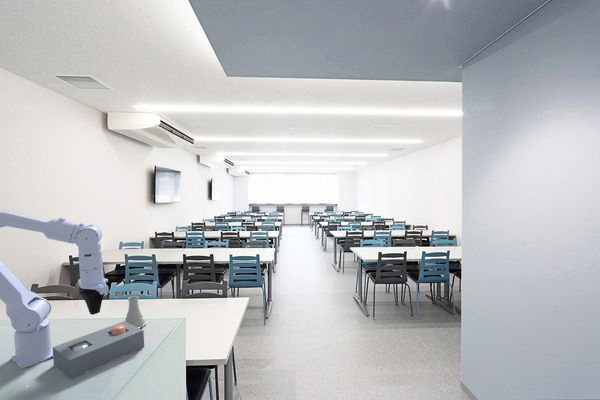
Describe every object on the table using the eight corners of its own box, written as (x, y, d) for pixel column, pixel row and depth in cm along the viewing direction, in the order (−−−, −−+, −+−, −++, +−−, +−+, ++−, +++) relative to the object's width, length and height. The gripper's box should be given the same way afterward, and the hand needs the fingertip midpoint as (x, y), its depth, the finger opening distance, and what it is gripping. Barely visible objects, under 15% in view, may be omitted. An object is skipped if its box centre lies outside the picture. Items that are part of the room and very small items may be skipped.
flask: (119, 332, 106) (118, 302, 106) (125, 323, 114) (124, 294, 113) (143, 330, 108) (142, 300, 107) (148, 320, 115) (147, 292, 114)
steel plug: (70, 363, 88) (69, 347, 88) (85, 357, 91) (84, 341, 91) (76, 367, 86) (75, 351, 86) (91, 361, 89) (90, 345, 89)
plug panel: (53, 365, 88) (52, 347, 88) (125, 336, 104) (124, 321, 103) (71, 379, 82) (69, 359, 82) (144, 346, 97) (143, 330, 97)
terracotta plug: (109, 343, 96) (108, 328, 96) (122, 338, 99) (121, 323, 99) (115, 346, 94) (115, 331, 94) (128, 341, 97) (127, 326, 97)
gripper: (118, 267, 95) (121, 313, 96) (94, 261, 103) (98, 303, 104) (91, 274, 89) (95, 323, 90) (68, 266, 97) (72, 311, 98)
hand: (94, 313), depth 97 cm, fingers closed
